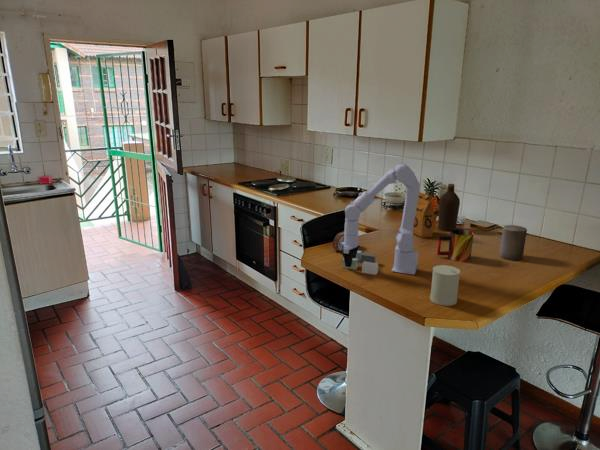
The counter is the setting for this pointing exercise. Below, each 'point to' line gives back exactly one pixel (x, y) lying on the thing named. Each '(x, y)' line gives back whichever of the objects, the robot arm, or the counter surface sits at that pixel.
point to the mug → (458, 245)
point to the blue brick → (358, 255)
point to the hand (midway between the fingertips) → (349, 264)
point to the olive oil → (448, 210)
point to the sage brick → (353, 265)
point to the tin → (338, 241)
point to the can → (445, 285)
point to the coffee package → (424, 217)
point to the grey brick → (370, 268)
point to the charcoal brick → (368, 257)
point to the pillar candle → (513, 242)
